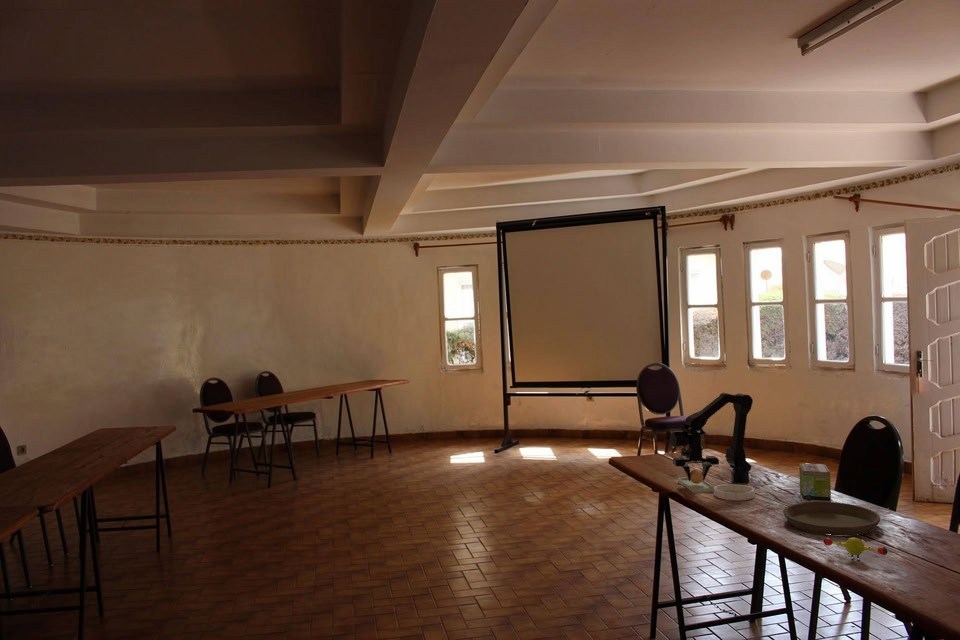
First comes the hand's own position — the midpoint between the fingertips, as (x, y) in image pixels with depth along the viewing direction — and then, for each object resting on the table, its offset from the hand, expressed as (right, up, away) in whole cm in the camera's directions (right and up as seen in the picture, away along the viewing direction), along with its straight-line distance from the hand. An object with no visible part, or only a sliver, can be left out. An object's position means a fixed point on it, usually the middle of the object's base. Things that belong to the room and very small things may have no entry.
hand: (696, 480), depth 317 cm
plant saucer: (+30, -3, -60) cm, 67 cm away
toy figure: (+21, -3, -95) cm, 97 cm away
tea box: (+37, -2, -33) cm, 50 cm away
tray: (0, -3, 0) cm, 3 cm away
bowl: (+10, -3, -18) cm, 21 cm away
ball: (0, -1, 0) cm, 1 cm away
